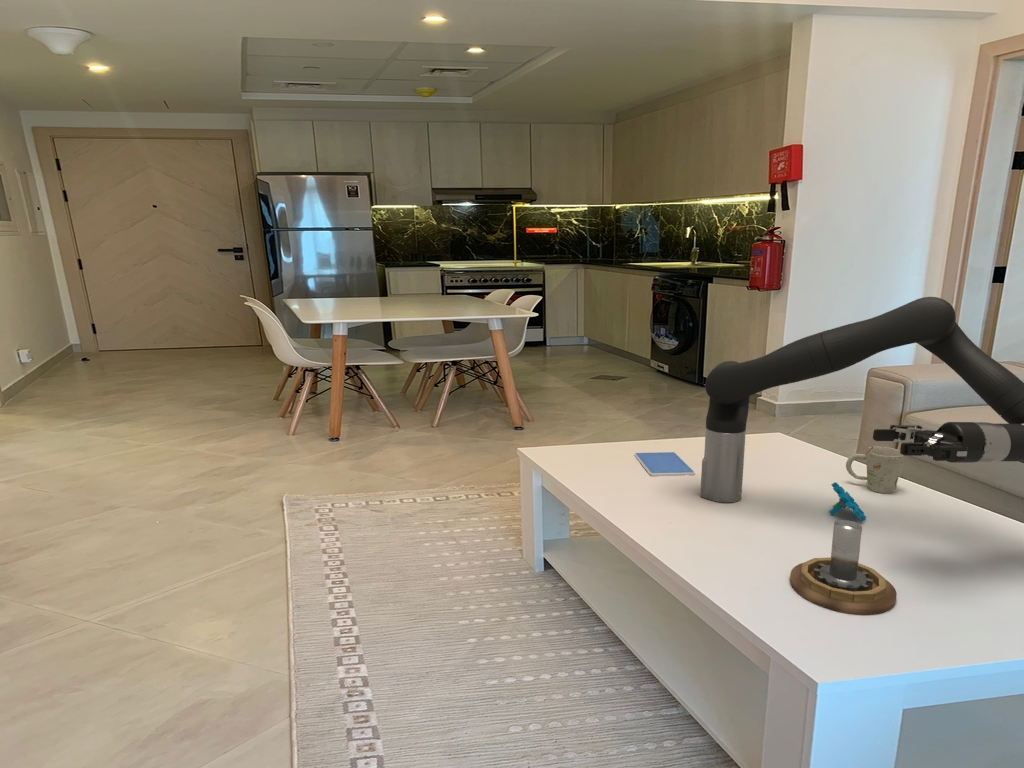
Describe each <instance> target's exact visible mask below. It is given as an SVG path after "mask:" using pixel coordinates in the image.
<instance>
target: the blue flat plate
mask: <svg viewBox="0 0 1024 768" xmlns="http://www.w3.org/2000/svg"><path fill="white" fill-rule="evenodd" d="M633 455H634V458H636V460H637V461H638V462H639V463H640V464H641V466H642V467H643V468H644V470H645V471H646V472H647V473H648V475H649V476H651V477H681V476H683V477H684V476H685V475H689V476H694V475H696V472H695V471H694V470H693V469H692V467H690V466H689V465H688V464H687V463H686V462H685V461H684V460H683V458H681V457H680V456H679V455H678V454H677V453H676V452H674V451H673V452H672V451H671V452H668V451H667V452H663V451H662V452H635V453H634V454H633Z"/></svg>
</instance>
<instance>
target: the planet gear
mask: <svg viewBox="0 0 1024 768" xmlns="http://www.w3.org/2000/svg"><path fill="white" fill-rule="evenodd" d="M862 530H863V526H862V524H860V523H858V522H855V521H852V520H846V519H838V520H835V521H834V522H833V531H832V540H831V542H832V543H831V552H830V558H831V560H830V565H824V564H819V566H818V569H815V568H814V576H813V578H816V579H817V581H818V582H821V583H823V584H825V585H827V586H830V587H832V588H837V589H842V590H847V591H852V592H855V591H869V589H872V585H873V579H868V573H867V572H865V571H864V572H860V571H858V563H859V562H860V561H859V560H860V551H861V542H862Z"/></svg>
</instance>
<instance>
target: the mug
mask: <svg viewBox="0 0 1024 768" xmlns="http://www.w3.org/2000/svg"><path fill="white" fill-rule="evenodd" d="M904 459H905V455H902V454H901V453H900V449H897V448H892V447H888V446H869V447H867V448H866V449H865V454H864V453H855V454H852V455H851V456H849V457H848V459H847V460H846V461H845V468H846V472H847V473H848V474H849V475H850V476H851V477H853V478H854V479H855V480H862V481H867V482H866V485H867V488H868V490H869V491H871V490H872V492H875V493H879V494H893V493H895V491H896V488H897V485H898V481H899V478H900V477H899V476H900V473H901V469H902V467H903V463H904ZM856 460H866V461H865V462H866V476H863V475H858V474H856V473H855V472H854V470H853V468H852V464H853V462H854V461H856Z"/></svg>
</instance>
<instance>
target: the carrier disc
mask: <svg viewBox="0 0 1024 768" xmlns="http://www.w3.org/2000/svg"><path fill="white" fill-rule="evenodd" d="M830 560H831V557H814V558H812V559H809V560H806V561H804V562H802V563H798V564H797V565H795V566H794V567H793V568H792V569H791V571H790V577H789V582H790V583H789V584H790V586H791V587H792V589H793V590H794V591H795V592H796V593H797V594H798V595H799V596H801V597H802V598H803V599H805V600H807V601H808V602H811V603H812V604H815V605H817V606H819V607H822V608H825V609H828V610H831V611H834V612H840V613H844V614H852V615H862V616H866V615H868V616H869V615H879V614H882V613H883V614H884V613H886V612H888V611H890V610H892V609H893V608H894V607H895V605H896V604H897V603H896V602H897V591H896V588H895V586H894V585H893V584H892V583H891V582H890V581H889V580H887V579H886V578H885V577H884V576H883V575H882V574H880V573H879V572H877V570H876V569H874V568H872V567H869V566H866V565H864V564H862V563H859V562H858V571H860V572H864V571H865V572H867V573H868V579H873V585H872V589H869V591H855V592H852V591H847V590H842V589H837V588H832V587H830V586H827V585H825V584H823V583H821V582H818V581H817V579H816V578H813V576H814V568H815V569H818V566H819V564H824V565H830Z"/></svg>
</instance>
